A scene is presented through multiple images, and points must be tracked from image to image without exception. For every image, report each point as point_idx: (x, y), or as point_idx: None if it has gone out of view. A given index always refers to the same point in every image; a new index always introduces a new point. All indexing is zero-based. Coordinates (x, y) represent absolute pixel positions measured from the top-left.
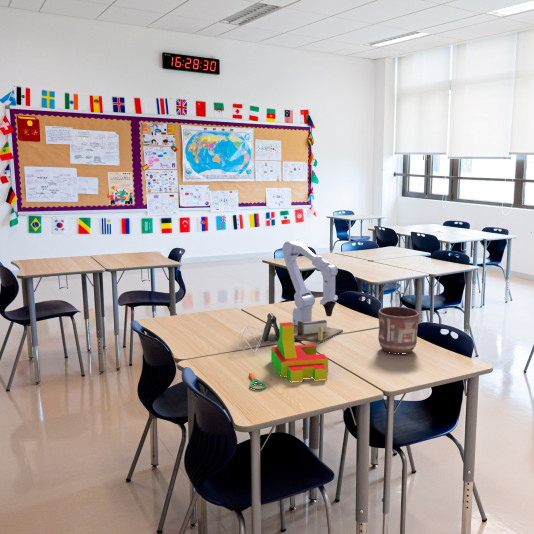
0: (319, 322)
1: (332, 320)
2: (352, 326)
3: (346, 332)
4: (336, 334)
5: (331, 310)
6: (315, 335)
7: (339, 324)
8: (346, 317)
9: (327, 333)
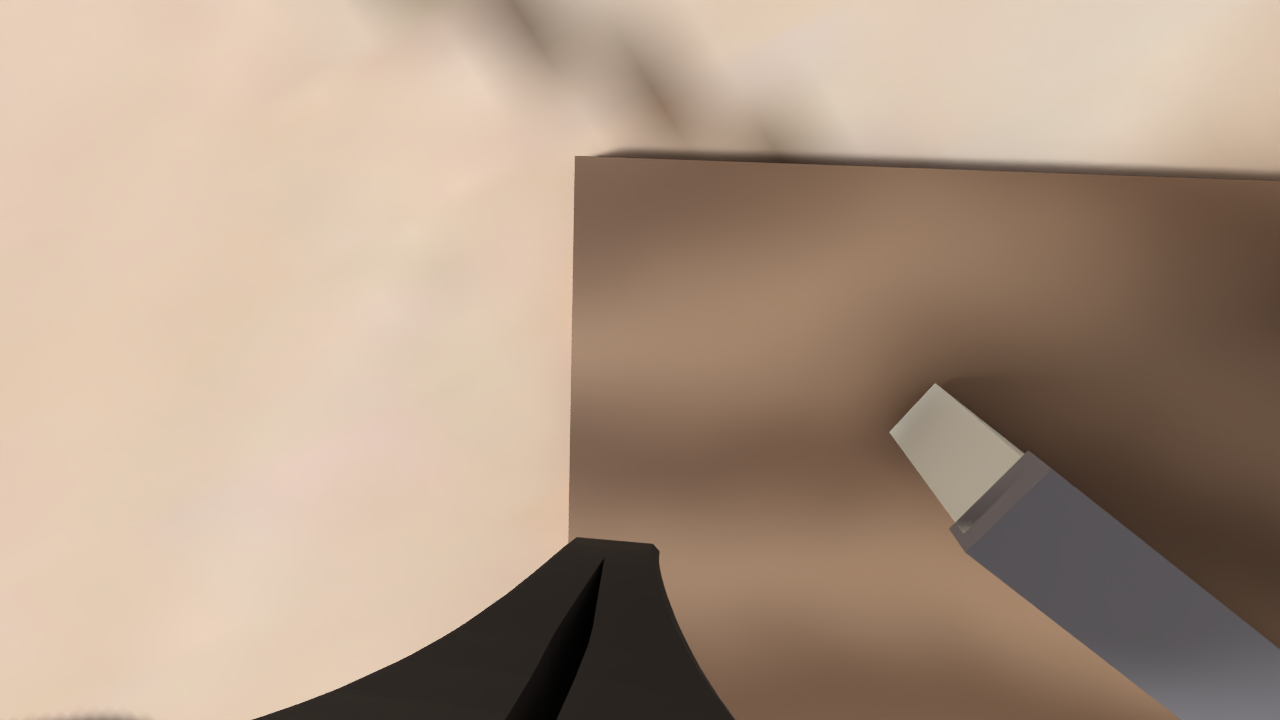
0: (1223, 607)
1: (68, 621)
2: (138, 163)
3: (570, 77)
4: (873, 167)
5: (600, 630)
6: (1257, 477)
7: (187, 428)
8: None
9: (992, 327)
